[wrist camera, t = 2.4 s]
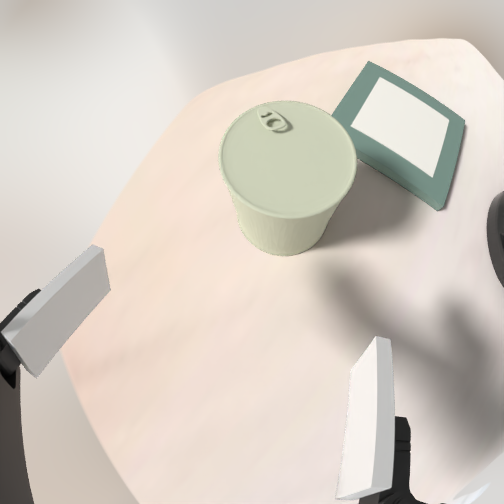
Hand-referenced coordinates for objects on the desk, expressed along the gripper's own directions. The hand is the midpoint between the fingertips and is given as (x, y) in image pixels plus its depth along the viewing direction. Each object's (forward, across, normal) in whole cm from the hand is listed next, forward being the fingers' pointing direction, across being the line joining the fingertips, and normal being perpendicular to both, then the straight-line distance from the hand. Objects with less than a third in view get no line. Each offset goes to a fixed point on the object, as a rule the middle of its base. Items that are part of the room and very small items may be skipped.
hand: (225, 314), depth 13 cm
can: (+18, 0, -3) cm, 18 cm away
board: (+29, +12, +8) cm, 32 cm away
